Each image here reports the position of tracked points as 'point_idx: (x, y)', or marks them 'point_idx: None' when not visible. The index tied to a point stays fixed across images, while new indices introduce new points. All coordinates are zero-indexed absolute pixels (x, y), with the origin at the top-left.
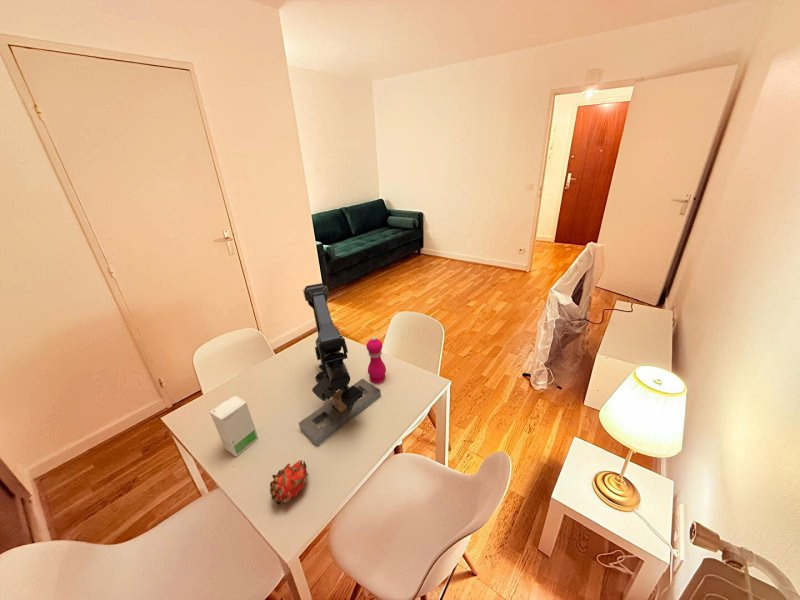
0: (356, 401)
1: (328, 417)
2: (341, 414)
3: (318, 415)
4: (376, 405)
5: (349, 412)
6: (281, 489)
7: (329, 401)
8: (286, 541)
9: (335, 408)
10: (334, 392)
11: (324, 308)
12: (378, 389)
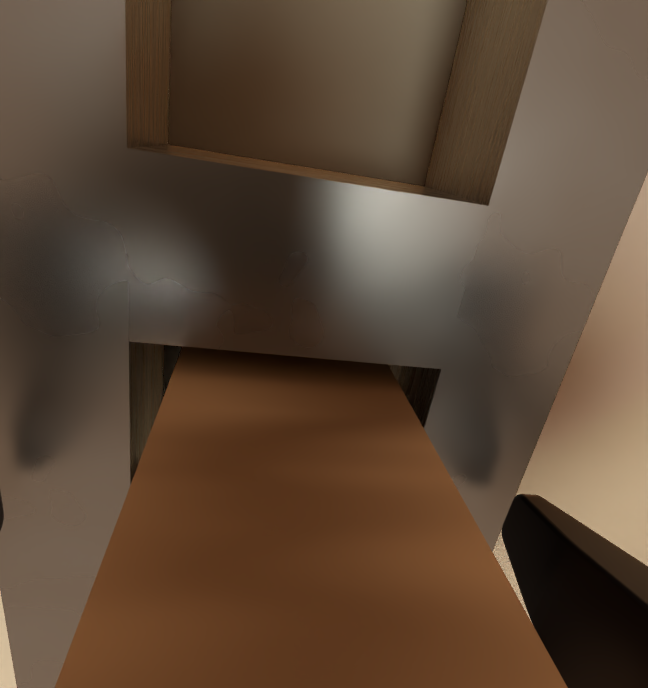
0: None
1: (351, 177)
2: (95, 339)
3: (543, 15)
4: (5, 656)
5: (8, 455)
6: None
7: (544, 423)
8: None
9: (345, 378)
10: (565, 648)
11: None
12: None
